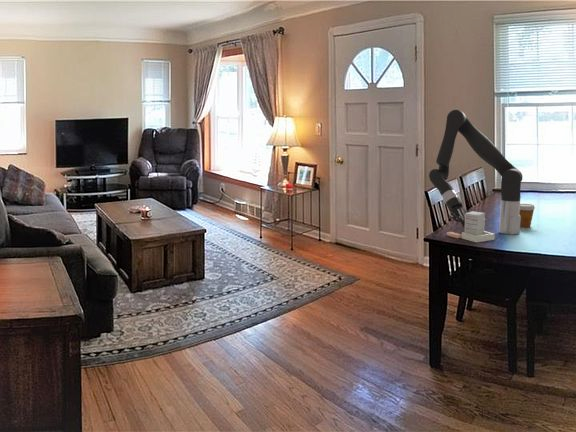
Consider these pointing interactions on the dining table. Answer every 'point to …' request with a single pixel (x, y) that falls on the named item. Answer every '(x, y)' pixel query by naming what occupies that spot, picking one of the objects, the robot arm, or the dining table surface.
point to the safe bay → (478, 237)
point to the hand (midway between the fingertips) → (467, 227)
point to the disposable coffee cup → (526, 215)
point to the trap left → (454, 234)
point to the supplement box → (474, 223)
